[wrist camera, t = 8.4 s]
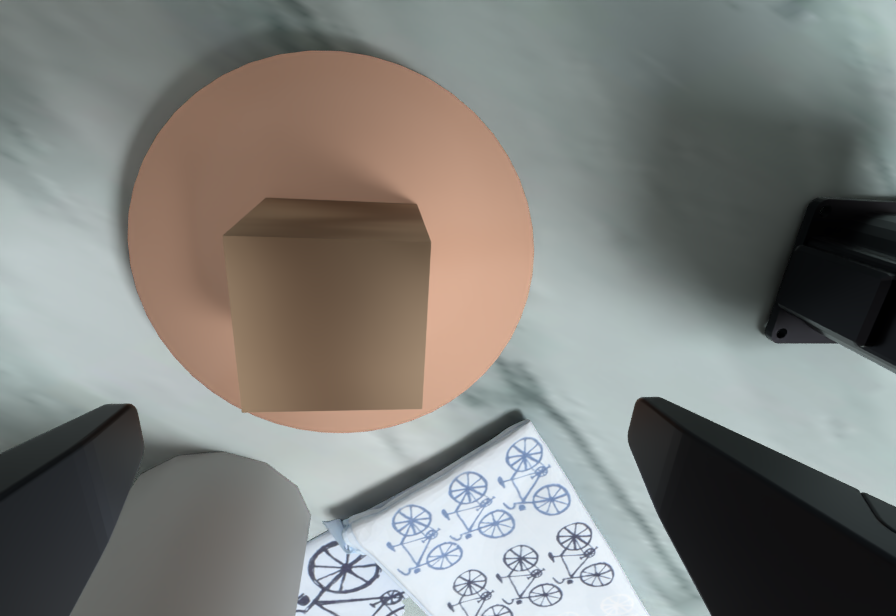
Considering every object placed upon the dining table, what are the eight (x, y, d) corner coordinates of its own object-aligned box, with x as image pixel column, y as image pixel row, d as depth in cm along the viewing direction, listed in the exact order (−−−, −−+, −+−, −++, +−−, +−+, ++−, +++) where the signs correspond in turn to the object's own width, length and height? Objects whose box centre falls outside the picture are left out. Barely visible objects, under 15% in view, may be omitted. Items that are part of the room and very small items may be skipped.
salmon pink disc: (547, 72, 17) (560, 70, 16) (503, 410, 23) (510, 429, 21) (111, 35, 15) (86, 28, 14) (175, 416, 21) (162, 437, 19)
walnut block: (417, 203, 17) (431, 242, 12) (411, 334, 19) (422, 409, 14) (266, 197, 16) (222, 235, 12) (275, 334, 18) (241, 412, 14)
